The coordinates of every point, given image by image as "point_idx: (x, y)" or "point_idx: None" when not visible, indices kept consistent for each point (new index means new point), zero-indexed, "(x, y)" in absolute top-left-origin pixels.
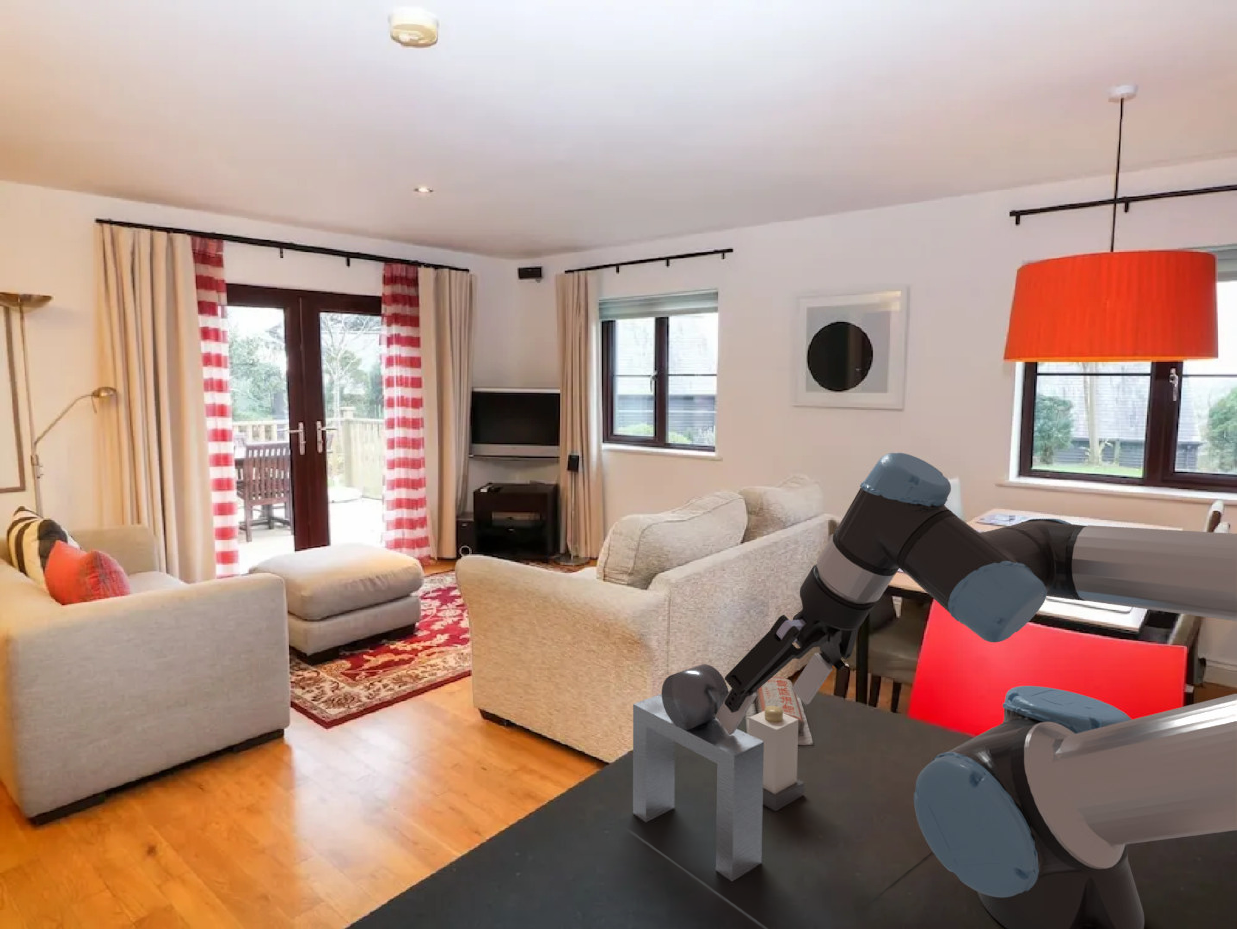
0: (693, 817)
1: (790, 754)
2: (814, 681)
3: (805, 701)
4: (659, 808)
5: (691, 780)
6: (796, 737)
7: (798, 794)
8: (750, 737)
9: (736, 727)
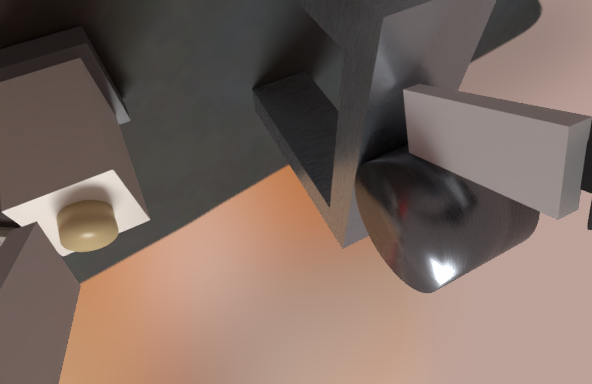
0: (238, 64)
1: (29, 129)
2: (17, 313)
3: (38, 233)
4: (287, 87)
5: (185, 148)
6: (6, 167)
7: None
8: (385, 57)
9: (422, 92)
